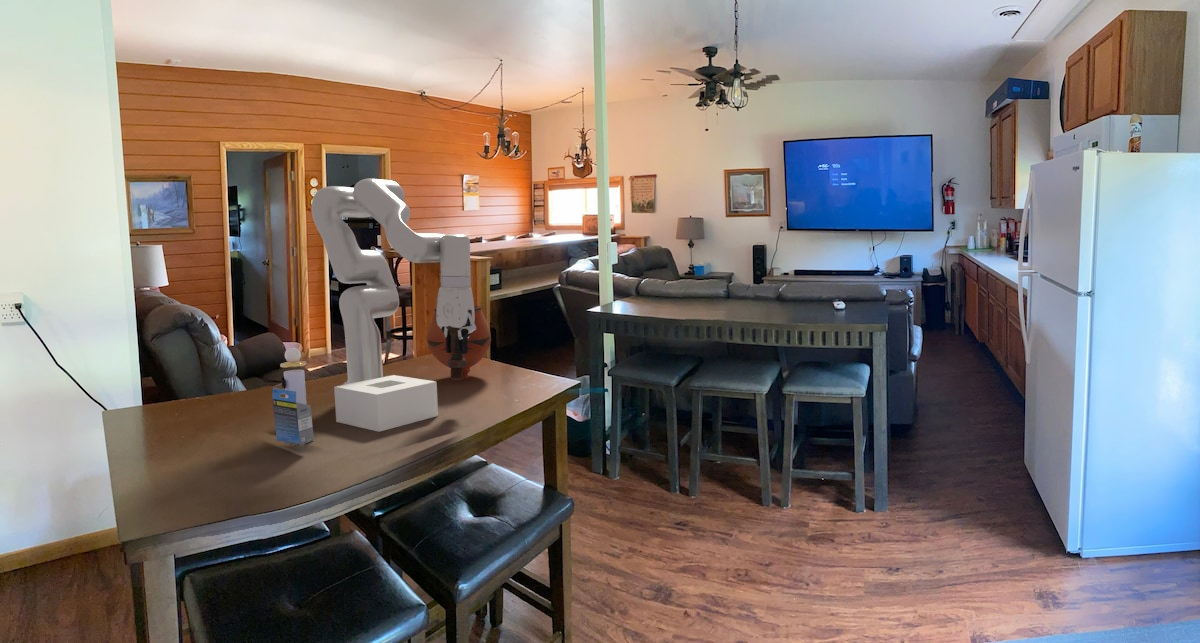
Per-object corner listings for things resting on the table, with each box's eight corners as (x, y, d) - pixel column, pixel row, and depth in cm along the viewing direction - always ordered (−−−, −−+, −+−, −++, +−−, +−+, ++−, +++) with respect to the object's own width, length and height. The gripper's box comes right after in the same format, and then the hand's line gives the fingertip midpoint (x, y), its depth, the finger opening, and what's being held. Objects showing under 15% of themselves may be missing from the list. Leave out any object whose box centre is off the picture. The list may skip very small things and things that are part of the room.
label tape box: (314, 441, 157) (311, 387, 156) (299, 445, 154) (295, 391, 152) (290, 436, 161) (286, 384, 160) (274, 440, 158) (270, 387, 157)
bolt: (455, 382, 177) (455, 325, 175) (441, 379, 180) (441, 322, 178) (471, 379, 182) (472, 322, 180) (457, 376, 185) (458, 320, 183)
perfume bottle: (310, 424, 172) (305, 344, 170) (310, 429, 167) (305, 348, 164) (285, 427, 170) (279, 346, 167) (284, 432, 164) (278, 349, 162)
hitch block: (336, 421, 174) (334, 386, 173) (395, 407, 188) (393, 375, 187) (379, 431, 164) (377, 394, 163) (438, 415, 178) (436, 381, 177)
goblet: (505, 385, 216) (502, 305, 213) (454, 396, 201) (451, 311, 199) (466, 378, 228) (463, 303, 225) (417, 388, 214) (413, 308, 211)
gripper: (423, 282, 180) (424, 351, 182) (467, 285, 170) (468, 358, 172) (445, 280, 186) (446, 348, 188) (489, 283, 176) (489, 354, 178)
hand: (456, 352), depth 180 cm, fingers closed on bolt, 3 cm apart
